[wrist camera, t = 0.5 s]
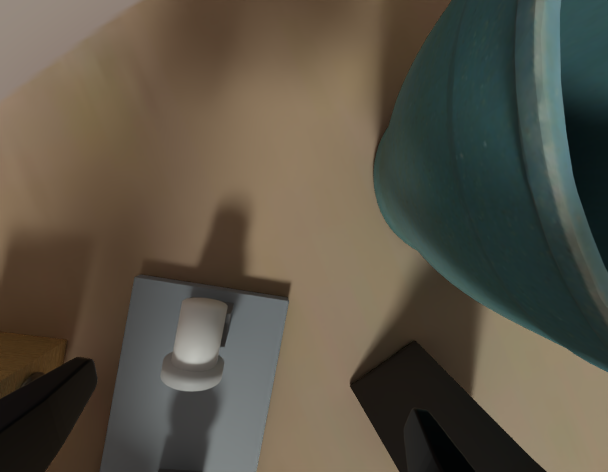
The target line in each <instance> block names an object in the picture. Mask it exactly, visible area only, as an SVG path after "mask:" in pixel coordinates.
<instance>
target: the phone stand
mask: <svg viewBox="0 0 608 472" xmlns="http://www.w3.org/2000/svg"><path fill="white" fill-rule="evenodd" d="M350 387H351V389H352V390H353V392H354V394H355V395H356V397H357V399H358V401H359V402H360V404H361V406H362V408H363V409H364V411H365V413H366V415H367V416H368V418H369V420H370V421H371V423H372V425H373V427H374V428H375V430H376V432H377V434H378V435H379V437H380V439H381V441H382V442H383V444H384V446H385V448H386V449H387V451H388V453H389V454H390V456H391V458H392V460H393V461H394V463H395V465H396V467H397V468H398V470H399V472H408V468H407V459H406V450H405V441H404V427H405V424H406V421H407V419H408V416H409V414H410V412H411V410H412V409H413V408H420V409H426V410H428V411H429V412H430V413H431V414H432V416H433V417H434V418H435V419H436V421H437V422H438V423H439V425H440V426H441V427H442V428H443V430H444V431H445V432H446V433H447V435H448V436H449V437H450V439H451V440H452V441H453V442H454V444H455V445H456V446H457V448H458V449H459V450H460V451H461V453H462V454H463V455H464V457H465V458H466V459H467V460H468V462H469V463H470V464H471V466H472V467H473V468H474V469H475V471H476V472H546V471H545V470H544V469H543V468H542V467H541V466H540V465H539V464H538V463H536V462H535V461H534V460H533V459H532V458H531V457H530V456H529V455H528V454H527V453H526V452H525V451H524V450H523V449H522V448H521V447H520V446H519V445H518V444H517V443H516V442H515V441H514V440H513V439H512V438H511V437H510V436H509V435H508V434H507V433H506V432H505V431H504V430H503V429H502V428H501V427H500V426H499V425H498V424H497V423H496V422H495V421H494V420H493V419H492V418H491V417H490V416H489V415H488V414H487V413H486V412H485V411H484V410H483V409H482V408H481V407H480V406H479V405H478V404H477V402H476V401H475V400H474V399H473V398H472V397H471V396H470V395H469V394H468V393H467V392H466V391H465V390H464V389H463V388H462V387H461V386H460V385H459V384H458V383H457V382H456V381H455V380H454V379H453V378H452V377H451V376H450V375H449V374H448V373H447V372H446V371H445V370H444V369H443V368H442V367H441V366H440V365H439V364H438V363H437V362H436V361H435V360H434V359H433V358H432V357H431V356H430V355H429V354H428V353H427V352H426V351H425V350H424V349H423V348H422V347H421V346H420V345H419V344H418V343H417V342H416V341H414V342H412V343H411V344H409V345H408V346H406V347H405V348H404V349H402V350H401V351H399V352H398V353H396V354H395V355H394V356H392V357H391V358H389V359H388V360H386V361H385V362H383V363H382V364H381V365H379V366H378V367H376V368H375V369H373V370H372V371H371V372H369V373H368V374H366V375H365V376H363V377H362V378H361V379H359V380H358V381H356V382H355V383H353V384H352V385H351V386H350Z"/></svg>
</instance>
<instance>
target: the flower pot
mask: <svg viewBox="0 0 608 472" xmlns="http://www.w3.org/2000/svg"><path fill="white" fill-rule="evenodd" d="M374 189H375V194H376V199H377V203H378V206H379V208H380V211H381V213H382V215H383V217H384V219H385V221H386V222H387V224H388V225H389V227H390V228H391V229H392V231H393V232H394V233H395V234H396V235H397V236H398V237H399V238H401V239H402V240H403V241H404V242H405V243H406V244H408V245H409V246H411V247H412V248H414V249H416V250H417V251H418V252H419V253H420V254H421V255H422V256H423V257H424V259H425V260H426V261H427V262H428V263H429V264H430V265H431V266H432V267H433V268H434V269H435V270H436V271H437V272H439V273H440V274H441V275H442V276H443V277H445V278H446V279H447V280H448V281H449V282H450V283H452V284H453V285H454V286H456V287H457V288H458V289H460V290H461V291H463V292H464V293H465V294H467V295H468V296H470V297H471V298H473V299H474V300H476V301H477V302H479V303H481V304H482V305H484V306H486V307H488V308H489V309H491V310H493V311H495V312H496V313H498V314H500V315H502V316H503V317H505V318H507V319H509V320H511V321H513V322H515V323H517V324H519V325H521V326H523V327H525V328H527V329H529V330H531V331H533V332H535V333H537V334H539V335H541V336H543V337H545V338H547V339H549V340H551V341H553V342H555V343H557V344H559V345H561V346H563V347H565V348H567V349H568V350H570V351H571V352H573V353H574V354H575V355H577V356H579V357H581V358H582V359H584V360H586V361H587V362H589V363H591V364H593V365H595V366H596V367H598V368H600V369H602V370H604V371H606V372H608V0H452V1H451V2H450V4H449V5H448V7H447V8H446V10H445V11H444V12H443V14H442V15H441V17H440V18H439V20H438V21H437V23H436V24H435V26H434V27H433V29H432V30H431V32H430V34H429V35H428V37H427V38H426V40H425V42H424V44H423V45H422V47H421V49H420V51H419V52H418V54H417V56H416V58H415V60H414V62H413V64H412V66H411V68H410V70H409V72H408V74H407V76H406V78H405V80H404V82H403V85H402V87H401V90H400V92H399V95H398V97H397V100H396V103H395V106H394V109H393V113H392V116H391V120H390V123H389V126H388V128H387V129H386V131H385V133H384V134H383V137H382V139H381V141H380V144H379V146H378V150H377V153H376V157H375V163H374Z"/></svg>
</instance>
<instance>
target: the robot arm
mask: <svg viewBox="0 0 608 472" xmlns="http://www.w3.org/2000/svg"><path fill="white" fill-rule="evenodd" d="M96 385H97V374H96V369H95V363H94V361H93V360H92V359H90V358H84V357H76V358H74V359H72V360H70V361H68V362H66V363H64V364H63V365H61V366H59V367H57V368H55V369H53V370H52V371H50V372H48V373H46V374H44V375H42V376H41V377H39V378H37V379H35V380H33V381H32V382H30V383H28V384H26V385H24V386H22V387H21V388H19V389H17V390H15V391H13V392H11V393H10V394H8V395H6V396H4V397H2V398H0V472H45V471H46V469H47V468H48V466H49V465H50V463H51V462H52V460H53V459H54V457H55V456H56V455H57V453H58V451H59V450H60V448H61V447H62V445H63V444H64V442H65V440H66V439H67V437H68V435H69V434H70V432H71V430H72V428H73V427H74V425H75V423H76V421H77V419H78V418H79V416H80V414H81V412H82V411H83V409H84V407H85V405H86V404H87V402H88V400H89V398H90V397H91V395H92V393H93V391H94V390H95V388H96ZM404 441H405V450H406V459H407V468H408V472H476V471H475V469H474V468H473V467H472V466H471V464H470V463H469V462H468V460H467V459H466V458H465V457H464V455H463V454H462V453H461V451H460V450H459V449H458V448H457V446H456V445H455V444H454V442H453V441H452V440H451V439H450V437H449V436H448V435H447V433H446V432H445V431H444V430H443V428H442V427H441V426H440V425H439V423H438V422H437V421H436V419H435V418H434V417H433V416H432V414H431V413H430V412H429V411H428V410H426V409H420V408H413V409H412V410H411V412H410V414H409V416H408V419H407V421H406V424H405V427H404Z"/></svg>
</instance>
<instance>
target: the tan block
mask: <svg viewBox="0 0 608 472" xmlns="http://www.w3.org/2000/svg"><path fill="white" fill-rule="evenodd" d="M66 343H67V340H64V339H56V338H48V337H40V336H31V335H23V334H15V333H7V332H0V398H2V397H4V396H6V395H8V394H10V393H11V392H13V391H15V390H17V389H19V388H21V387H22V386H24V385H26V384H28V383H30V382H32V381H33V380H35V379H37V378H39V377H41V376H42V375H44V374H46V373H48V372H50V371H52V370H53V369H55V368H57V367H59V366H61V365H63V360H64V354H65V349H66Z"/></svg>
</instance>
